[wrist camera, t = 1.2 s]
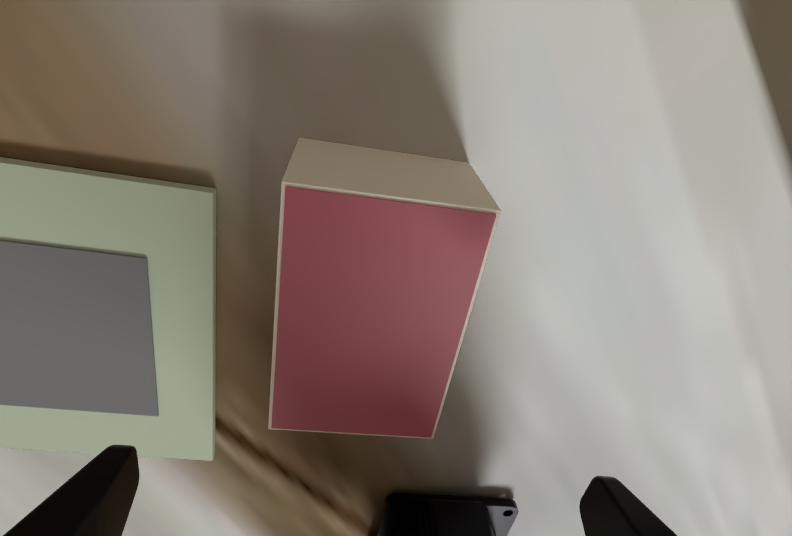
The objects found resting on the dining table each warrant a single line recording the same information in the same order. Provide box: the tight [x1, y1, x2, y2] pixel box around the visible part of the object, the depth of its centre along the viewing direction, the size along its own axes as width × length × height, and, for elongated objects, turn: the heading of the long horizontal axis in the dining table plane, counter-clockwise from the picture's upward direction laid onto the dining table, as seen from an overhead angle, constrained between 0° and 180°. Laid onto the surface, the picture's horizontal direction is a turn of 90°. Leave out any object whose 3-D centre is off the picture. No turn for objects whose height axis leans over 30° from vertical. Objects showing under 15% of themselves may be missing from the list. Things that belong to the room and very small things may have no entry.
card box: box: [268, 138, 501, 439], centre depth 15 cm, size 8×5×4 cm, turn 170°
